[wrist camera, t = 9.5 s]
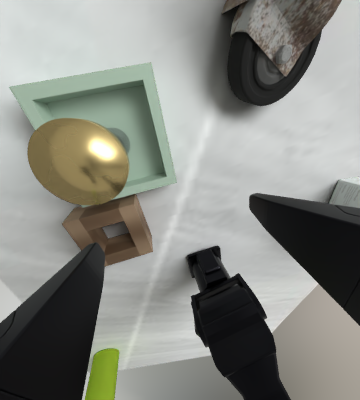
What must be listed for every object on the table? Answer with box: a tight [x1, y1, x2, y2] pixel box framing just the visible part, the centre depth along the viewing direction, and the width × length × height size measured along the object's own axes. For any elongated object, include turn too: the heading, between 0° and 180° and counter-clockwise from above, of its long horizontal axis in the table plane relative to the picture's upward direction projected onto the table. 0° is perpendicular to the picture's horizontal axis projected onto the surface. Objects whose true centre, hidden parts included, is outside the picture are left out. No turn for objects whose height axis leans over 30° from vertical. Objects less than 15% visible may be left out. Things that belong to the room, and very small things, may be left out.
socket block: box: [62, 194, 153, 266], centre depth 20 cm, size 8×8×4 cm
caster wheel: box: [222, 0, 342, 106], centre depth 14 cm, size 7×11×10 cm
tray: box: [9, 62, 177, 208], centre depth 16 cm, size 11×11×3 cm
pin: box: [28, 118, 130, 205], centre depth 12 cm, size 4×4×10 cm
